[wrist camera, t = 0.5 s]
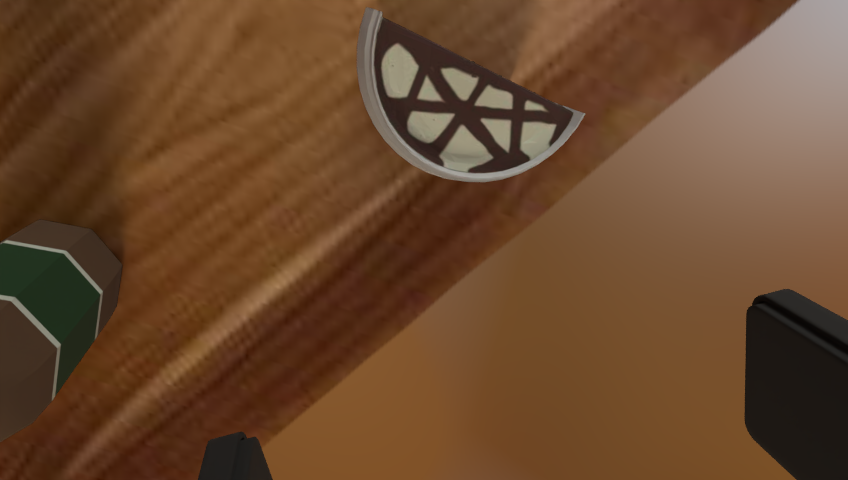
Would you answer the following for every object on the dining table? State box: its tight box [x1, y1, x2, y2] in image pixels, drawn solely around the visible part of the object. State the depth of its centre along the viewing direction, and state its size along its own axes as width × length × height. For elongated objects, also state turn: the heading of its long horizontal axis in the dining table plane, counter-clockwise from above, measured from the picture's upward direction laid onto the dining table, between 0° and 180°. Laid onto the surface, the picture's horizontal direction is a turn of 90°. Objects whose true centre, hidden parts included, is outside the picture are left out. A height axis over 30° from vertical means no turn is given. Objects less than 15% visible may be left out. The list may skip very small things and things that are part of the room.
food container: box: [357, 7, 585, 182], centre depth 33 cm, size 12×6×10 cm, turn 65°
